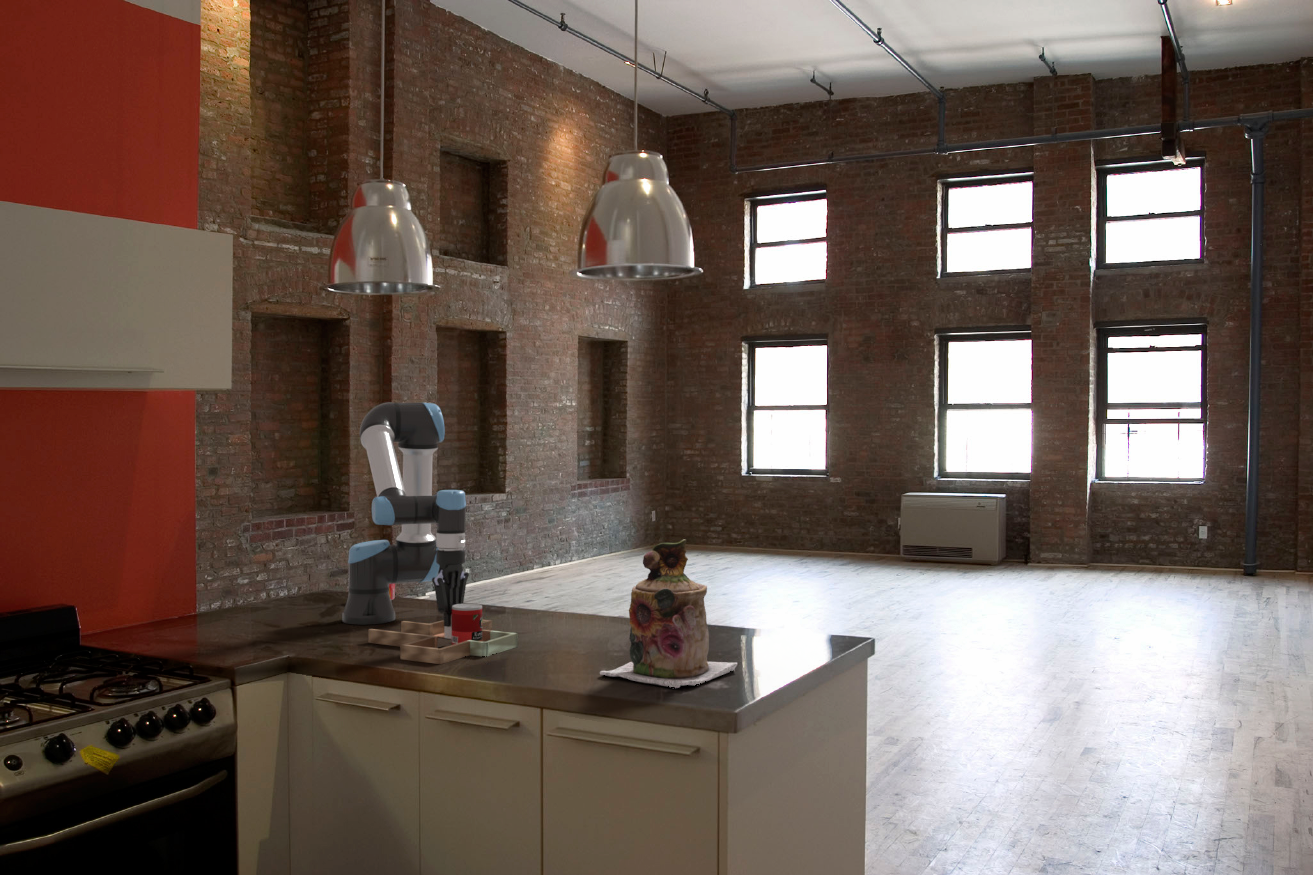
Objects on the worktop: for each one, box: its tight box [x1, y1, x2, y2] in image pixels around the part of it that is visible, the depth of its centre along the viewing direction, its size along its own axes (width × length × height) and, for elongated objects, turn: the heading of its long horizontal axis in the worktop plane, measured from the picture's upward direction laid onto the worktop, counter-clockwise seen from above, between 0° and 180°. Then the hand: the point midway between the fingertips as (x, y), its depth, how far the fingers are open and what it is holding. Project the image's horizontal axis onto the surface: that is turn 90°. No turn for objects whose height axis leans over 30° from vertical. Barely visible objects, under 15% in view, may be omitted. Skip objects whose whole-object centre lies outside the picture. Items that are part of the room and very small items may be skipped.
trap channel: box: [367, 619, 519, 665], centre depth 292 cm, size 38×38×4 cm
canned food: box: [451, 602, 483, 645], centre depth 288 cm, size 8×8×11 cm
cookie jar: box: [599, 538, 738, 689], centre depth 259 cm, size 25×25×32 cm
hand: (450, 638), depth 291 cm, fingers closed
